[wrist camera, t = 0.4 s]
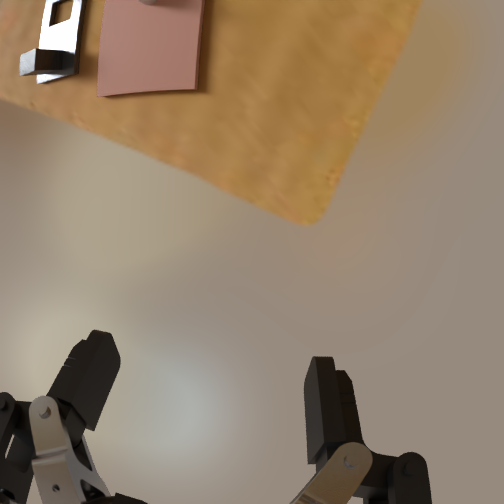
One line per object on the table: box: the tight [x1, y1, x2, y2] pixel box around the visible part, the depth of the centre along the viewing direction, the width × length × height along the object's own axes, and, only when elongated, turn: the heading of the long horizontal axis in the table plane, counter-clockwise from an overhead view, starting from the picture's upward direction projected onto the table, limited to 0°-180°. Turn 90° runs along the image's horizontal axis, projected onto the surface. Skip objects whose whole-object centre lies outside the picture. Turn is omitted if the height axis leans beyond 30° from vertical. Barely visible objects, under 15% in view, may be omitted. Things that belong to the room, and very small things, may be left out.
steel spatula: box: [19, 0, 87, 84], centre depth 21 cm, size 15×7×7 cm, turn 176°
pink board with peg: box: [97, 0, 205, 97], centre depth 22 cm, size 18×13×8 cm
